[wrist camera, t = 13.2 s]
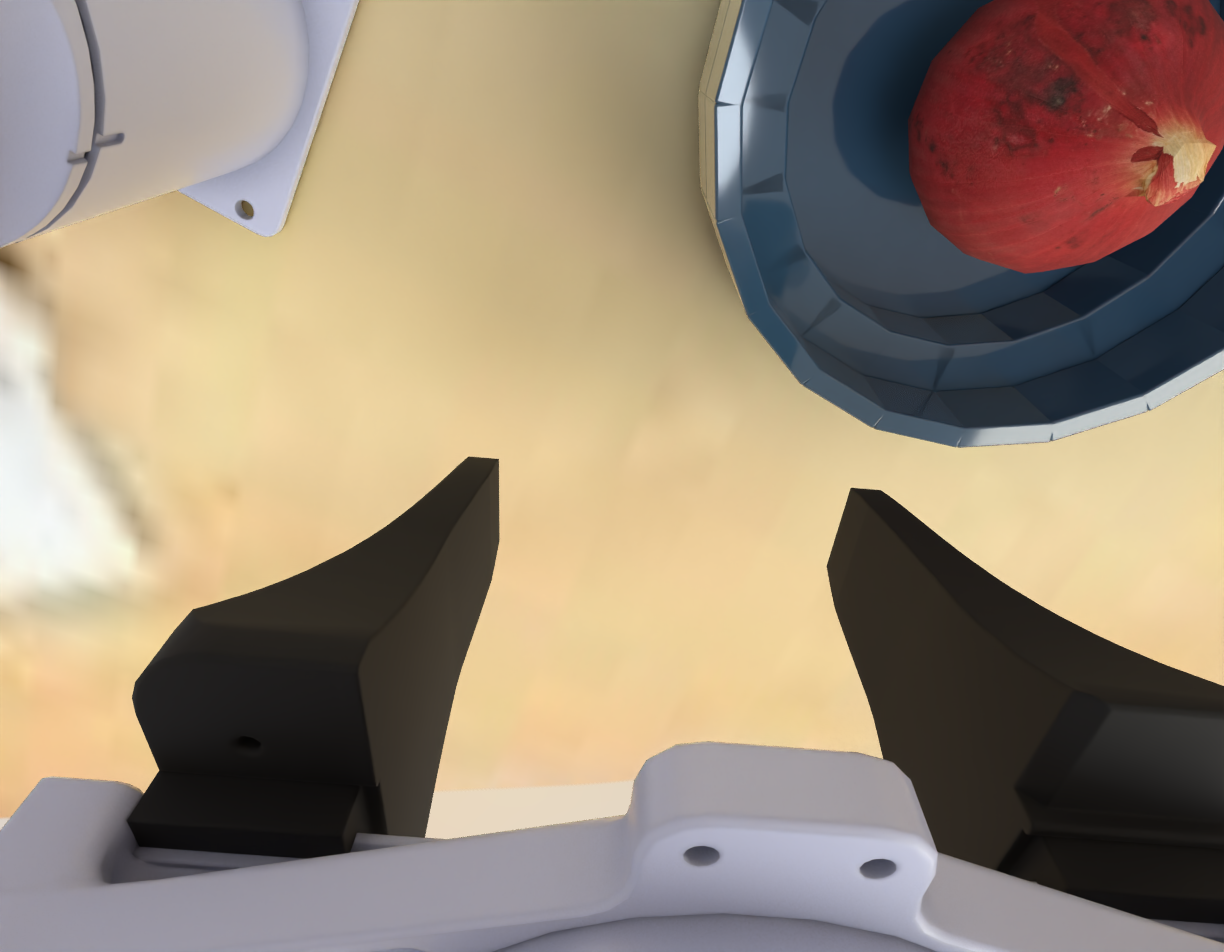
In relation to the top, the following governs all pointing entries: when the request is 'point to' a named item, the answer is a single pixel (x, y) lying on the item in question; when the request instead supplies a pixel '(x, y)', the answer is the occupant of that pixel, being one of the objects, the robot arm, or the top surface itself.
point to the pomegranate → (1067, 126)
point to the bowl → (925, 245)
